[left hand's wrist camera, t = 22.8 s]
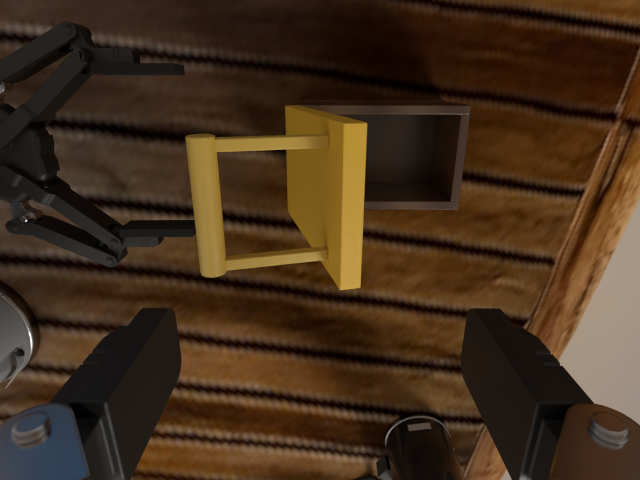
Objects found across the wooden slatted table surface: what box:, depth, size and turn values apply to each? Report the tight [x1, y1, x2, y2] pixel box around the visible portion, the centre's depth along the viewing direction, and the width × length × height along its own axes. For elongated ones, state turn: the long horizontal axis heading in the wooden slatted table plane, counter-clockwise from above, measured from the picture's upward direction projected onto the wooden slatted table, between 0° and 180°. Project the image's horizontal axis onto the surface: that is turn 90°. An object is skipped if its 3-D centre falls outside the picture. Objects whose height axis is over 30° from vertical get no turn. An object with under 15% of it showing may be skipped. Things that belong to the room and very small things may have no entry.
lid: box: [186, 105, 367, 290], centre depth 28 cm, size 16×9×9 cm
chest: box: [294, 100, 471, 209], centre depth 41 cm, size 15×9×9 cm, turn 90°
